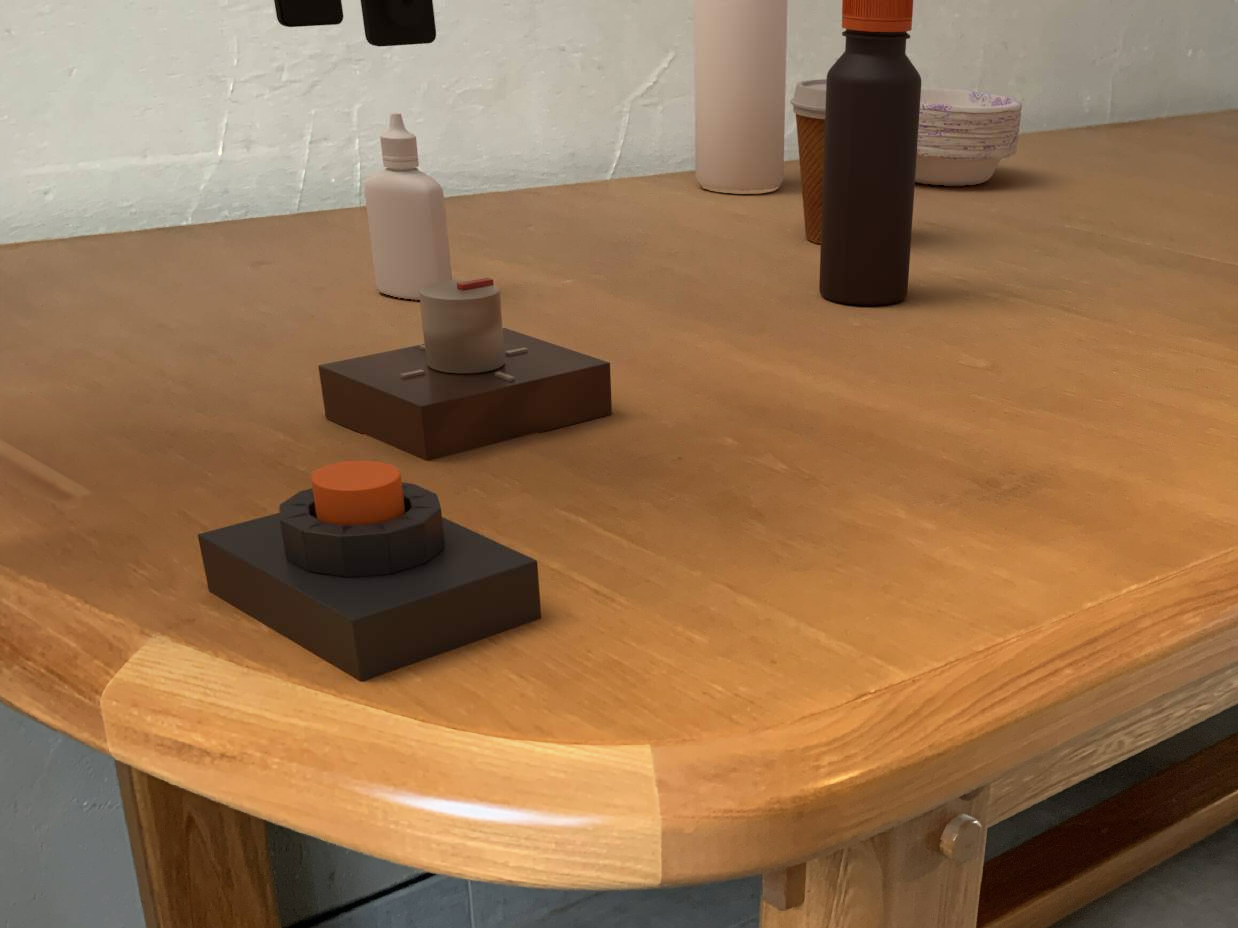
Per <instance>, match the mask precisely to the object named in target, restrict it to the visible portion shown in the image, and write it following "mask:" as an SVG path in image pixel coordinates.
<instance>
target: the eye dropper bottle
mask: <svg viewBox="0 0 1238 928" xmlns="http://www.w3.org/2000/svg"><path fill="white" fill-rule="evenodd" d="M379 138H380V146H381V147H380V148H381V157H382V165H383V167H384V170H382V171H378V172H376V173H374V174H372V175H371V176H369V178H367V180H366V181H365V185H364V196H365V206H366V217H367V223H368V224H367V225H368V231H369V233H368V234H369V241H370V248H371V256H372V266H373V272H374V282H375V288H376V290H377V291H378V292H379V293H380V292H381V293H380V294H382V293H384V294H387V295H390V296H394V297H393V298H395V297H399V298H398V299H400V298H405V299H404V300H407V299H411V300H410V301H418V300H420V297H419V289H420V288H421V287H423V286H425V285H428V284H432V283H437V282H444V281H453V276H452V275H453V273H452V264H451V263H452V262H451V253H450V244H449V233H448V225H447V224H448V222H447V211H446V204H445V203H446V202H445V195H444V190H443V187H442V186H441V184H440V183H439V182H438V181H437V180H436V179H435V178H433V177H432V176H430V175H428V174H426V173H425V172H423V171H421V170H420V169H419V168H418V167H420V162H419V155H418V144H417V136H416V135H415V134H414V133H412V132H410V131H409V130H407V129H406V126H405V124H404V120H403V116H402V113H401V112H390V114H389V127H388V129H387V131H386V132H383V133H382V134H381V135H380V137H379ZM384 294H383V295H384ZM387 295H386V296H387ZM390 296H389V297H390ZM413 299H414V300H413Z"/></svg>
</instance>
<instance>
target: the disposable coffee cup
mask: <svg viewBox="0 0 1238 928" xmlns="http://www.w3.org/2000/svg"><path fill="white" fill-rule="evenodd" d="M826 81H827V78H822V79H821V78H819V79H817V78H816V79H808V80H801V81H798V82H796V85H795V89H794V93H793V97H792V98H791V99H789V101H790V104H791V105H792V107H793V108H792V109H793V111H792V112H793V113H794V114H795V122H796V136H797V146H798V158H799V170H800V171H799V172H800V184H801V195H802V208H803V216H804V217H803V218H804V219H803V220H804V232H805V238H806V240H807V241H810V242H811V241H812V242H811V243H815V244H820V245H821V224H822V196H823V167H824V138H825V110H826Z"/></svg>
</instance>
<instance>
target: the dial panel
mask: <svg viewBox="0 0 1238 928" xmlns="http://www.w3.org/2000/svg"><path fill="white" fill-rule="evenodd" d="M502 328H503V341H504V354H505V364H504V365H503V366H502V367H500V368H498V369H495V370H491V371H487V372H481V373H469V374H458V373H447V372H441V371H437V370H434V369H432V368H430V367H429V366H428V365H427V362H426V353H425V344H424V343H423V344H417V345H412V346H409V347H408V346H407V347H403V348H397V349H393V350H388V351H383V352H377V353H373V354H368V355H364V356H358V357H357V356H356V357H352V358H349V359H348V358H347V359H343V360H338V361H333V362H328V363H323V364H319V365H318V373H319V381H320V388H321V394H322V401H323V408H324V416H325V418H326V419H327V420H330V421H332V422H334V423H335V424H338V425H341V426H343V427H345V428H347V429H350V430H352V431H355V432H357V433H360V434H361V435H365V436H368V437H370V438H372V439H375V440H377V441H379V442H382V443H384V444H386V445H389V446H391V447H393V448H395V449H398V450H400V451H403V452H405V453H407V454H410V455H411V456H414V457H416V458H419V459H421V460H423V461H426V462H430V461H433V460H437V459H441V458H445V457H448V456H452V455H457V454H460V453H464V452H468V451H472V450H476V449H480V448H483V447H487V446H491V445H495V444H498V443H502V442H506V441H510V440H515V439H518V438H522V437H526V436H530V435H534V434H538V433H539V434H540V433H543V432H548V431H552V430H555V429H561V428H564V427H567V426H571V425H575V424H579V423H582V422H586V421H589V420H590V421H591V420H594V419H598V418H602V417H606V416H610V415H612V414H613V410H612V409H613V406H612V405H613V404H612V381H611V379H612V378H611V377H612V376H611V362H609V361H606V360H604V359H600V358H597V357H594V356H591V355H588V354H585V353H582V352H579V351H576V350H573V349H570V348H567V347H564V346H561V345H558V344H555V343H552V342H549V341H546V340H542V339H540V338H536V337H534V336H530V335H528V334H525V333H521V332H518V331H515V330H512V329H509V328H506V327H502Z"/></svg>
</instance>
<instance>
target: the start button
mask: <svg viewBox="0 0 1238 928" xmlns="http://www.w3.org/2000/svg"><path fill="white" fill-rule="evenodd" d="M310 483H311V488H312V490H313V496H314V503H315V509H316V516H317V519H319V520H321V521H323V522H325V523H333V524H341V525H358V524H372V523H381V522H384V521H388V520H391V519H395V518H398V517H401V516H402V515H403V514H405V506H404V498H403V489H402V483H403V482H402V473H401V471H400V469H398V468H397V467H396V466H395V465H392V464H389V463H386V462H382V461H375V460H347V461H341V462H336V463H331V464H328V465H325V466H322V467H320V468H318V469H316V470H315V471H314V472H313V473H312V474H311V477H310Z"/></svg>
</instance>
